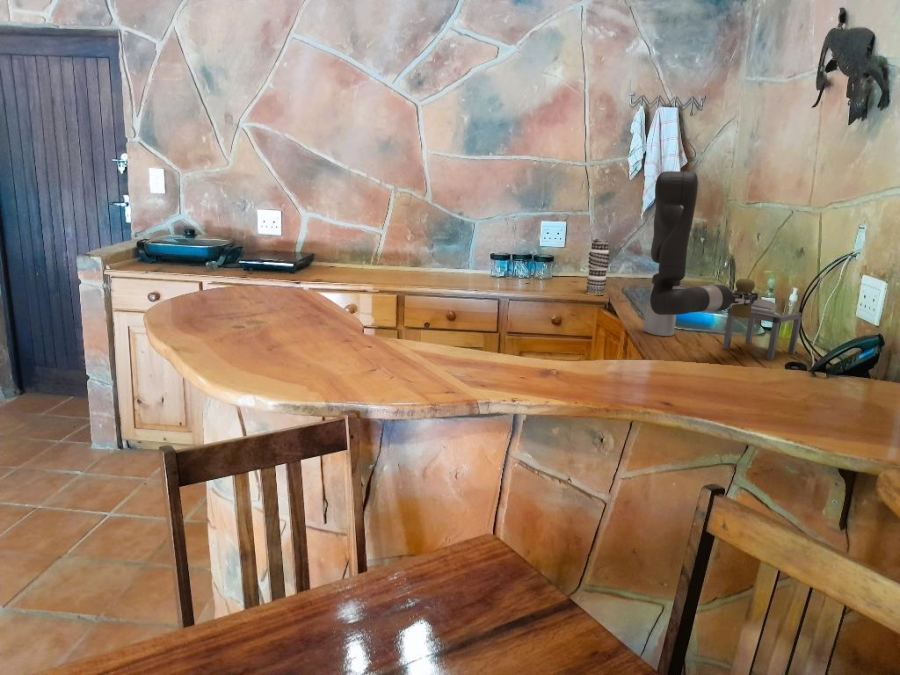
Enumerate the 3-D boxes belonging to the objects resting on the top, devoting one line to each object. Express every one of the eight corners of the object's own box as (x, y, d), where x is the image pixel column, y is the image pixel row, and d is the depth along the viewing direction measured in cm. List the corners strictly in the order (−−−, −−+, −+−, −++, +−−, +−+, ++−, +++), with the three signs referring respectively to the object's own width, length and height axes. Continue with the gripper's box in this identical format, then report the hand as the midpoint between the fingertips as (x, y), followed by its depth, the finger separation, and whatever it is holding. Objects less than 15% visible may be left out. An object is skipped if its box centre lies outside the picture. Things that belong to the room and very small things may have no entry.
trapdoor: (728, 303, 199) (731, 294, 199) (753, 316, 211) (756, 306, 211) (767, 310, 190) (770, 300, 190) (790, 323, 202) (793, 313, 202)
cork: (734, 312, 198) (740, 276, 195) (754, 316, 194) (760, 279, 191) (726, 314, 194) (731, 278, 191) (746, 318, 190) (752, 281, 187)
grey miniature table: (722, 348, 207) (728, 308, 204) (747, 342, 217) (753, 304, 213) (771, 360, 195) (778, 318, 192) (795, 353, 205) (802, 313, 202)
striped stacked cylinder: (584, 295, 292) (589, 239, 286) (586, 292, 300) (591, 237, 294) (604, 297, 289) (610, 240, 283) (606, 293, 298) (611, 239, 292)
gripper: (733, 290, 179) (773, 287, 187) (693, 281, 191) (732, 278, 199) (729, 316, 181) (769, 312, 189) (689, 306, 193) (728, 302, 201)
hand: (750, 295), depth 194 cm, fingers closed on cork, 3 cm apart
